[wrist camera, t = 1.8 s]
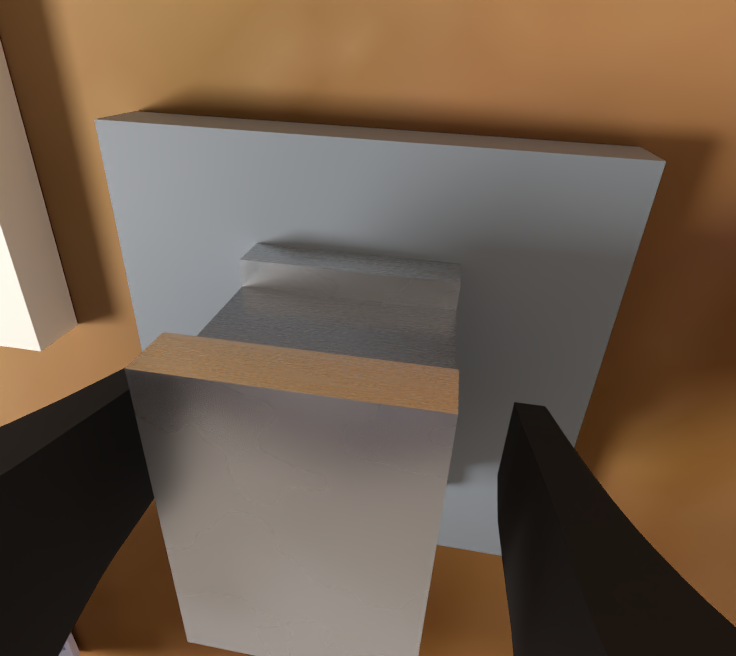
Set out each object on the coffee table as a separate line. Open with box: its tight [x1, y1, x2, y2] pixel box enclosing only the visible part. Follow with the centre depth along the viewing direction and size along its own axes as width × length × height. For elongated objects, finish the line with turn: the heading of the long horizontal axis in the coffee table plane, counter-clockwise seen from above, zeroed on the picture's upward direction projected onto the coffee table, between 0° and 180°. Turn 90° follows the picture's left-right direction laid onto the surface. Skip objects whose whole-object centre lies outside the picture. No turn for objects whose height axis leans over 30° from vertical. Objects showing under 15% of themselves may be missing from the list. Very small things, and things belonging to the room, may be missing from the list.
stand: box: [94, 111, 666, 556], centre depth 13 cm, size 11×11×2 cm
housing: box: [125, 243, 461, 656], centre depth 10 cm, size 6×4×5 cm
